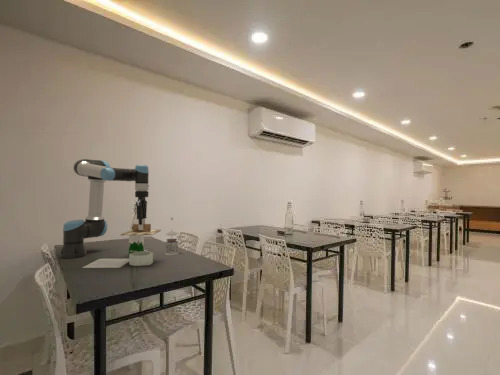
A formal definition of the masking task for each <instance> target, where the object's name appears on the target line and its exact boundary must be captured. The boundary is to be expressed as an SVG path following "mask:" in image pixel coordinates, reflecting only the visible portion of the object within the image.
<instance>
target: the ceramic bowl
mask: <svg viewBox="0 0 500 375" xmlns="http://www.w3.org/2000/svg"><path fill="white" fill-rule="evenodd" d="M128 259H129V262H128V263H129V265H130V266H133V267H135V266H136V267H139V266H150V265H152V264H153V263H154V252H153V251H150V250H149V251H148V250H144V251H139V252H133V253H130V254H129V253H128Z"/></svg>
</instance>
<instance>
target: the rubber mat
mask: <svg viewBox="0 0 500 375" xmlns="http://www.w3.org/2000/svg"><path fill="white" fill-rule="evenodd" d="M127 263H129V258H98V259H96V260H94V261H93V262H90V263H88V264H86V265H85V266H82V267H81V268H82V269H83V268H84V269H87V268H88V269H90V268H91V269H92V268H94V269H95V268H97V269H100V268H101V269H103V268H105V269H108V268H109V269H110V268H111V269H112V268H113V269H115V268H118V269H119V268H120V269H121V267H124V266H125V265H126V264H127Z"/></svg>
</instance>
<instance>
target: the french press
mask: <svg viewBox="0 0 500 375" xmlns="http://www.w3.org/2000/svg"><path fill="white" fill-rule="evenodd" d="M170 220H174V217H170ZM178 234H179V233H178V232H176V231H173V230H171V231H168V232H167V233H165V235H166V236H176V235H177V236H176V238H167V239H166V242H165V252H164V255H167V256H176V255H179V254H180V253H179V251H178V250H179V249H178V247H180V246H181V244H182V240H183V239H182V237H181V236H179V235H178ZM178 239H179V242H180V243H179V244H178V241H177V240H178Z"/></svg>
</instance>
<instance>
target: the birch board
mask: <svg viewBox="0 0 500 375" xmlns="http://www.w3.org/2000/svg"><path fill="white" fill-rule="evenodd" d="M132 227H133V230H131V229H129V230H130V231H128V230H127V231H125V232H122V233H120V236H129V235H144V236H154V235H156V234H157V233H159V232H161V231H162V229H152V224H151V223H145V224H143V230H138V223H133V224H132Z"/></svg>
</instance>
